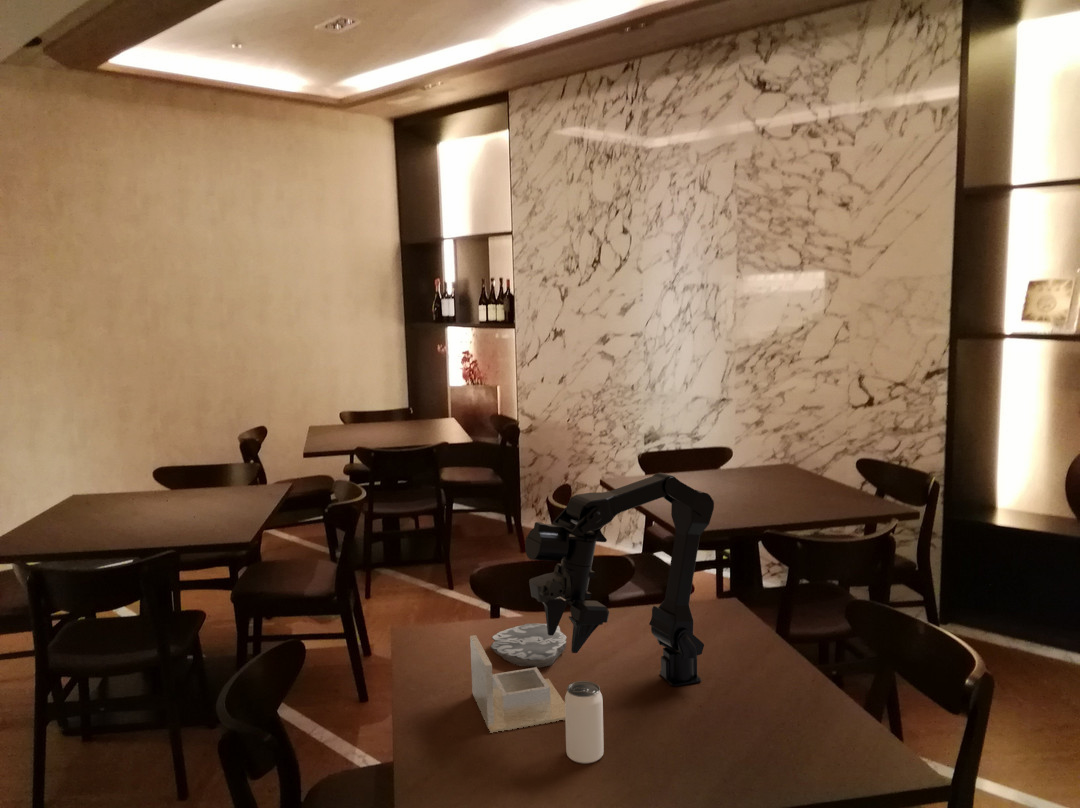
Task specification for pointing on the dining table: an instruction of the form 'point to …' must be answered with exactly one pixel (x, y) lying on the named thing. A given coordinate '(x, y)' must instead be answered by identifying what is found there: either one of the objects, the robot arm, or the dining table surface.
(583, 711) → the can
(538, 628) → the brain slice
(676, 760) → the dining table surface
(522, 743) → the dining table surface
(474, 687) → the cup bracket
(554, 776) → the dining table surface
